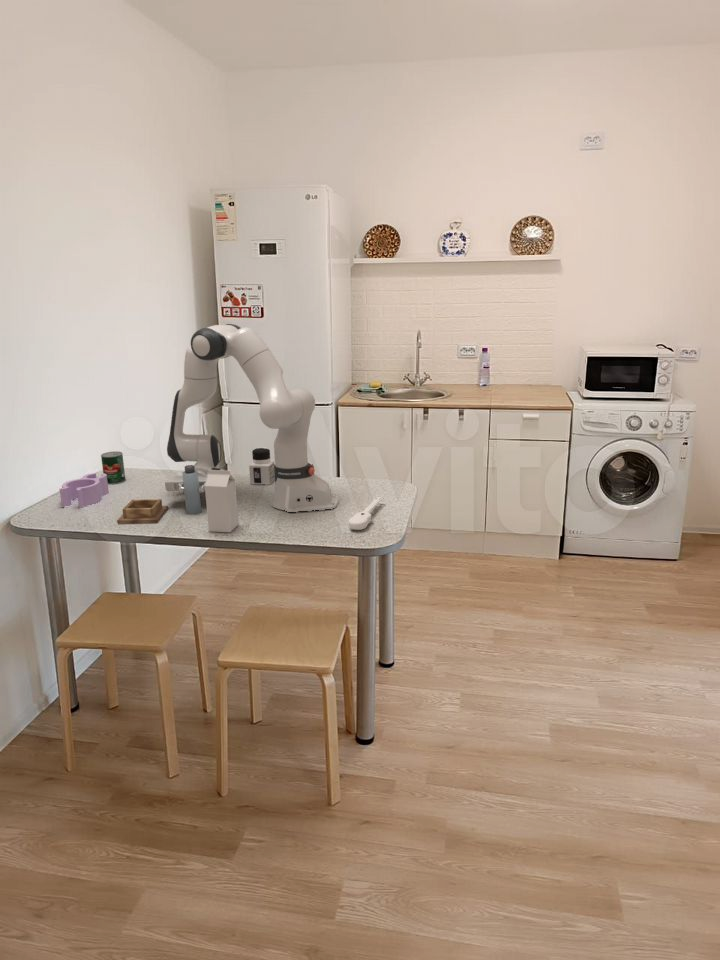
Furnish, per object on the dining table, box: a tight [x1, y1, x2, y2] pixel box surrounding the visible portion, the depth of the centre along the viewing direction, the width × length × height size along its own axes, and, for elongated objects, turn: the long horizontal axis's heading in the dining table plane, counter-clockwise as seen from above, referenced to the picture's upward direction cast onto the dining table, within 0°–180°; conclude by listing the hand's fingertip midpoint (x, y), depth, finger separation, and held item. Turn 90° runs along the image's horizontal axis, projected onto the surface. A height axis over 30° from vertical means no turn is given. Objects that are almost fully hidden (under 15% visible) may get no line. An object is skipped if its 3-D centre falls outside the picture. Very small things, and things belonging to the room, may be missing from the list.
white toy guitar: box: [348, 496, 384, 531], centre depth 230 cm, size 28×6×3 cm, turn 162°
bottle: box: [181, 464, 202, 515], centre depth 237 cm, size 5×5×16 cm
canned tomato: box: [100, 451, 126, 485], centre depth 275 cm, size 8×8×11 cm
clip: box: [59, 472, 110, 509], centre depth 255 cm, size 20×12×7 cm, turn 169°
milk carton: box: [204, 469, 239, 533], centre depth 221 cm, size 7×7×19 cm
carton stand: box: [116, 498, 170, 525], centre depth 236 cm, size 13×14×4 cm
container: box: [248, 447, 275, 486], centre depth 269 cm, size 8×8×13 cm
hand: (191, 490), depth 236 cm, fingers closed on bottle, 5 cm apart
